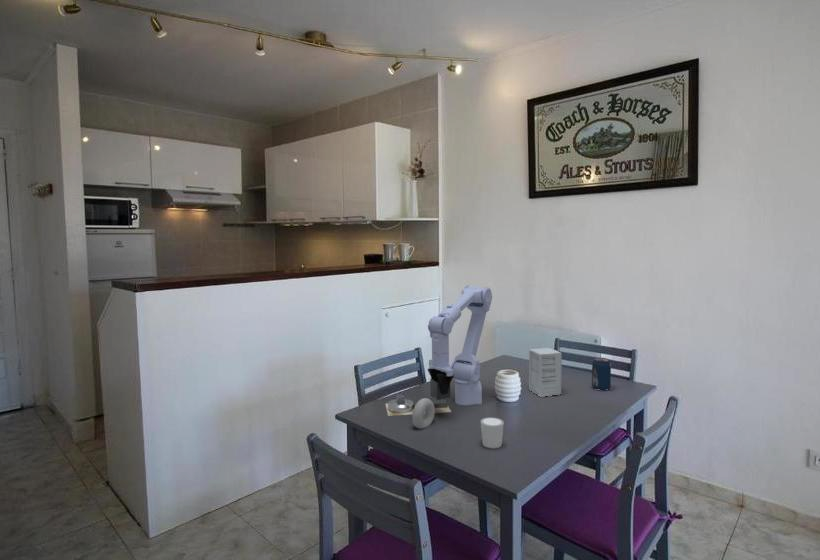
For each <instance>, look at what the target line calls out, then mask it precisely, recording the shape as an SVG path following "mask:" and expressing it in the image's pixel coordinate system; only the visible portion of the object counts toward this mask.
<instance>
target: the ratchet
mask: <svg viewBox="0 0 820 560" xmlns="http://www.w3.org/2000/svg"><path fill="white" fill-rule="evenodd" d="M431 401H432V402H433V404H434V407H435V408H447V407H449V405H448V402H447V400H446V399H440V400H436V399H435V400H431ZM417 402H418V401H413V400H411V399H407V398H405V395H404V394H396V398H394V399H391V400H388V402H387V403H388V410H389V411H390V412H393V413H407V412H410V411H412V410H413V408H414V407H415V405H416V404H417ZM447 405H448V406H447Z"/></svg>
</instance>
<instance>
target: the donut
mask: <svg viewBox="0 0 820 560" xmlns="http://www.w3.org/2000/svg"><path fill="white" fill-rule="evenodd" d="M432 401H433V400H431V399H430V398H427V397H424V398H421V399H418V401H416V402H417V404H416V405H415V407H414V410H413V414H411V417H412V418H411V419H412V423H413V425H414V427H415V428H416V429H419V430H422V429H426V428H428V427H429V426H430V425H431V424H432V423H433V420H434V417H435V414H436V413H435V407H434V404H433V402H432ZM424 411H425V412H424ZM423 413H424V414H423Z"/></svg>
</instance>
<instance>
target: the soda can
mask: <svg viewBox="0 0 820 560" xmlns="http://www.w3.org/2000/svg"><path fill="white" fill-rule="evenodd" d="M591 363H592V364H591V369H592V370H591V386H592V388H593V389H594V388H595V389H600V390H606V389H610V388H611V377H612V376H611V374H612V372H611V371H612V364H611V362H610V359H609V358H606V357H594V358H593V361H592V362H591ZM595 389H594V390H595Z"/></svg>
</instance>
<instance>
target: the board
mask: <svg viewBox="0 0 820 560" xmlns="http://www.w3.org/2000/svg"><path fill="white" fill-rule="evenodd" d="M384 404H385V409H386V412H387V416H388V417H390V416H392V417H393V416H408V415H411V416H412V415H413V410H414V408H413V410H412V411H410V412H407V413H393V412H390V411H389V410H388V402H386V403H384ZM447 406H448V407H447V408H435V414H440V413H452V410H451V409H450V406H449V405H448V404H447ZM424 412H425V411H424ZM423 415H424V413H423Z"/></svg>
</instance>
